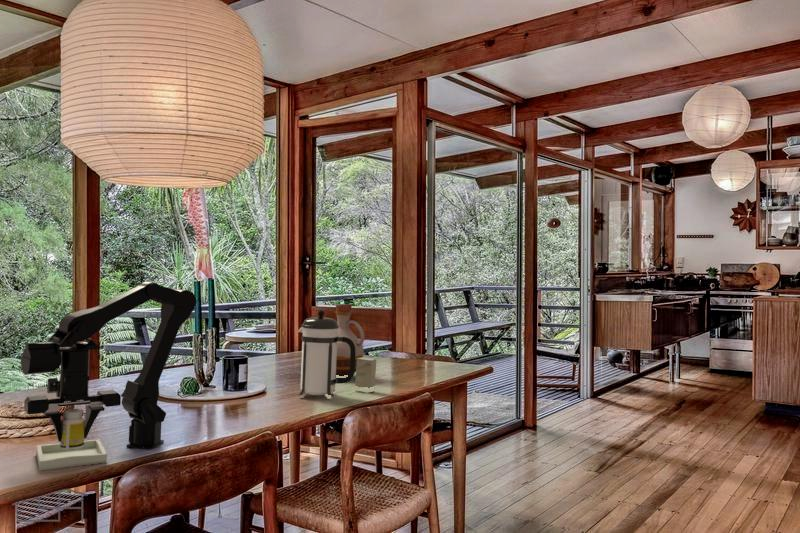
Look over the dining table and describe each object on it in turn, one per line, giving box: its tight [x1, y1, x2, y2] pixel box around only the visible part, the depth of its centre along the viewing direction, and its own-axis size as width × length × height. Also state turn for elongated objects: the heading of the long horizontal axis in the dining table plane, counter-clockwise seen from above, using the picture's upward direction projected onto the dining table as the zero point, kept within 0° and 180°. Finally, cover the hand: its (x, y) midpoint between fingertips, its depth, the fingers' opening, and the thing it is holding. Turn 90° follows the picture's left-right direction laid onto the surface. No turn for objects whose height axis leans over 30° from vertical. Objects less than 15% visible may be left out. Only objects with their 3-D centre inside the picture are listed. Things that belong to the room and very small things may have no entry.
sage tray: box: [35, 438, 108, 472], centre depth 143 cm, size 13×13×2 cm
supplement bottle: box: [59, 408, 85, 450], centre depth 144 cm, size 5×5×8 cm
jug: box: [335, 304, 365, 376], centre depth 260 cm, size 20×18×30 cm
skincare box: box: [354, 356, 377, 388], centre depth 233 cm, size 6×4×12 cm
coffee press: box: [297, 309, 356, 396], centre depth 222 cm, size 17×16×30 cm
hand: (72, 439), depth 144 cm, fingers closed on supplement bottle, 5 cm apart
